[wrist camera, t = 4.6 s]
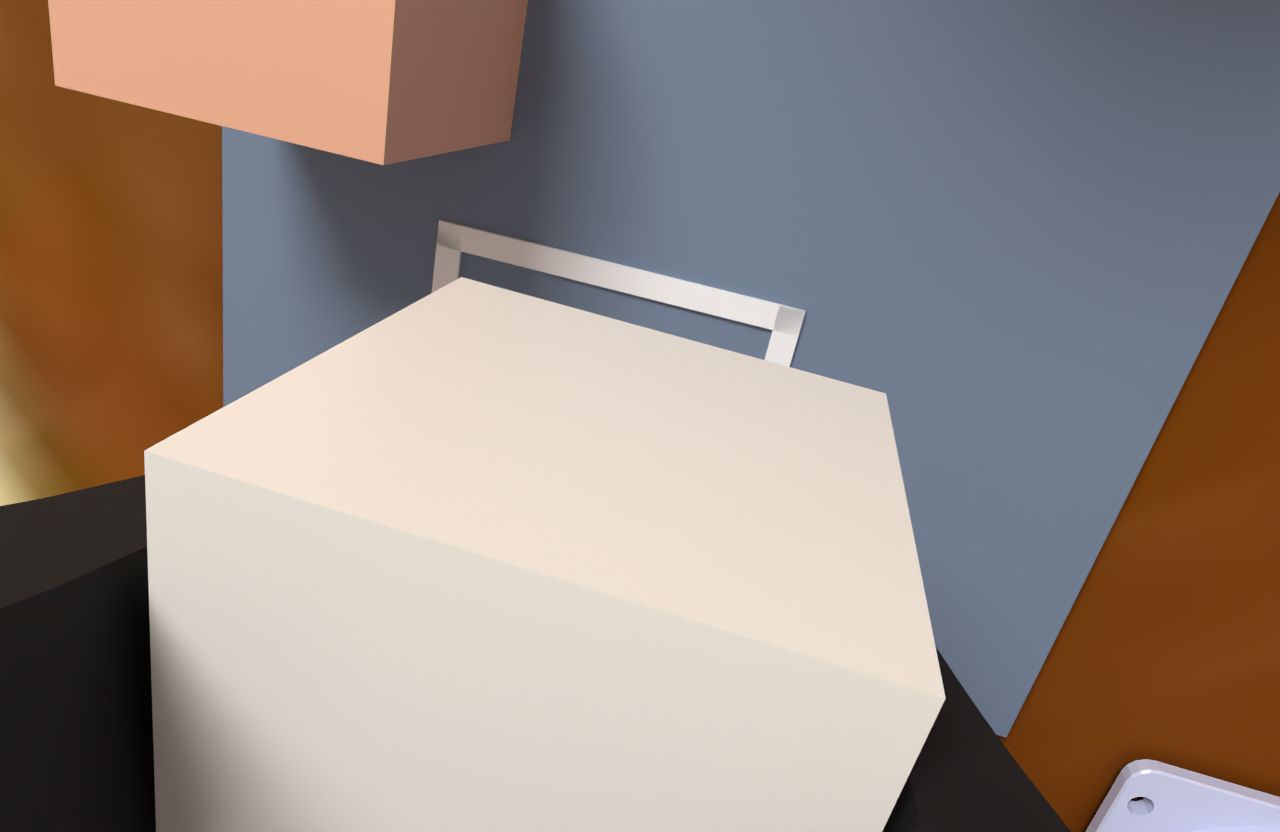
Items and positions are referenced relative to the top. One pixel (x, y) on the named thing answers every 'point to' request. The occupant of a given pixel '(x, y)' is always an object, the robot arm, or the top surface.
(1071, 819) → the top surface
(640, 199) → the mat
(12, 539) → the robot arm
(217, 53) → the terracotta block
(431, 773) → the offwhite block
